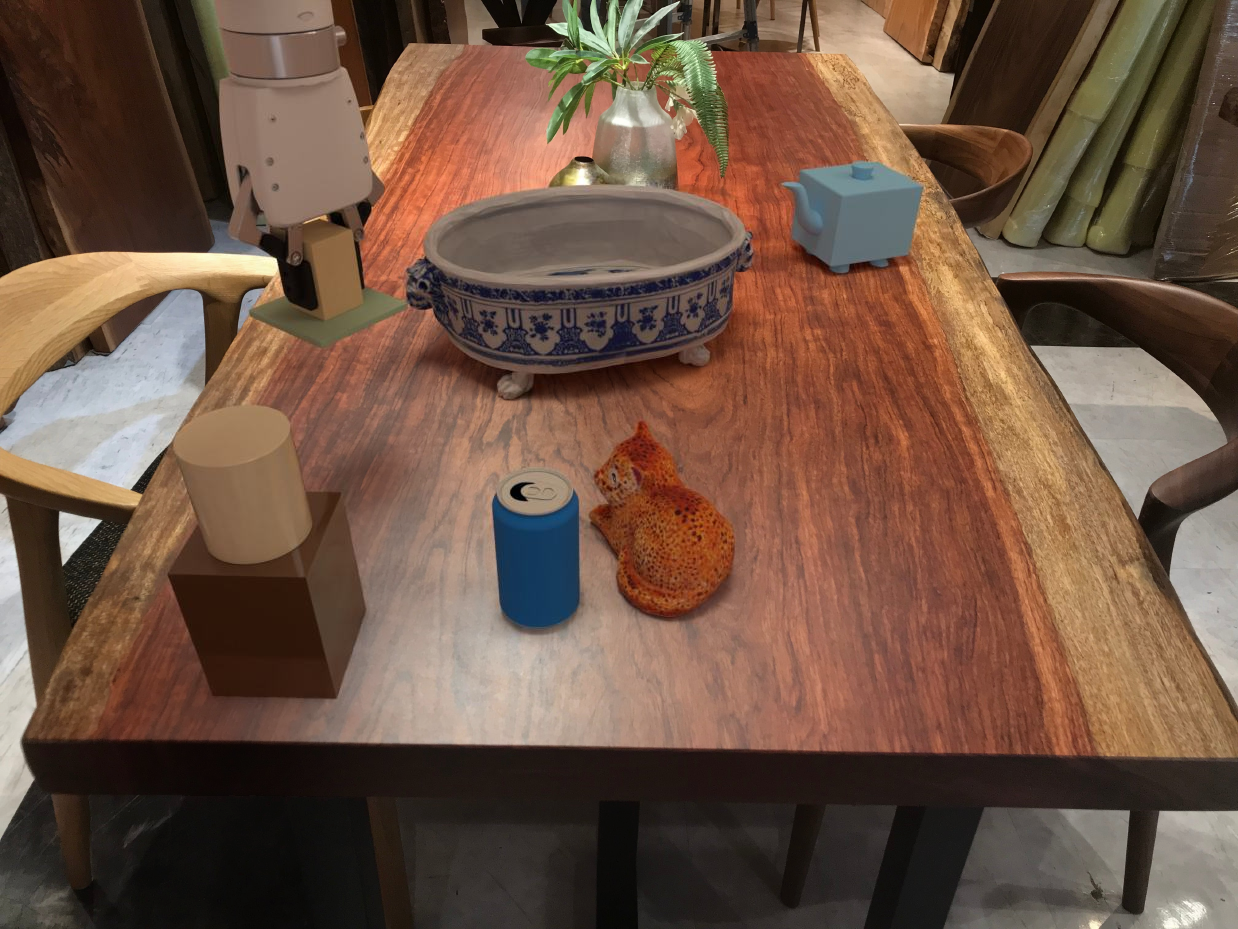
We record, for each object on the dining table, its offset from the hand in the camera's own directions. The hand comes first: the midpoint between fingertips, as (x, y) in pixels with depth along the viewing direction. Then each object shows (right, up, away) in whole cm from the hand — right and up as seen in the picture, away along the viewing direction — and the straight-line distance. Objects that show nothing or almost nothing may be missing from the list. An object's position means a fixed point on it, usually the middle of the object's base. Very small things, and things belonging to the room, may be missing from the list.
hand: (326, 293), depth 73 cm
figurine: (+27, -22, +5) cm, 35 cm away
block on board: (0, -1, +1) cm, 2 cm away
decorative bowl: (+20, +1, +36) cm, 42 cm away
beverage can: (+17, -26, 0) cm, 31 cm away
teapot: (+56, +16, +59) cm, 83 cm away
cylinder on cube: (-1, -28, -4) cm, 29 cm away
